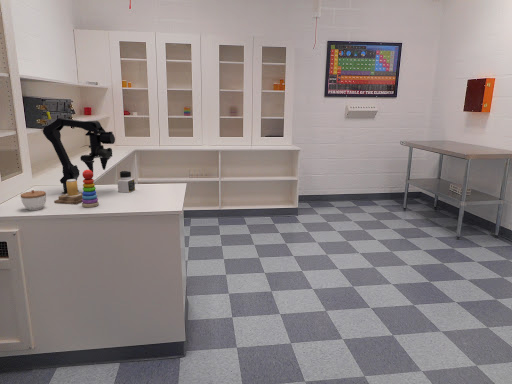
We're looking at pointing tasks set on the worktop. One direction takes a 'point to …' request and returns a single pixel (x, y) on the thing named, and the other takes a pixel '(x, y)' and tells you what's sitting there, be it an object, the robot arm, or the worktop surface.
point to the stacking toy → (89, 190)
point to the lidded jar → (34, 199)
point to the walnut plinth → (70, 199)
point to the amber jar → (72, 187)
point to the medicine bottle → (126, 182)
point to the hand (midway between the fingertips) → (98, 171)
